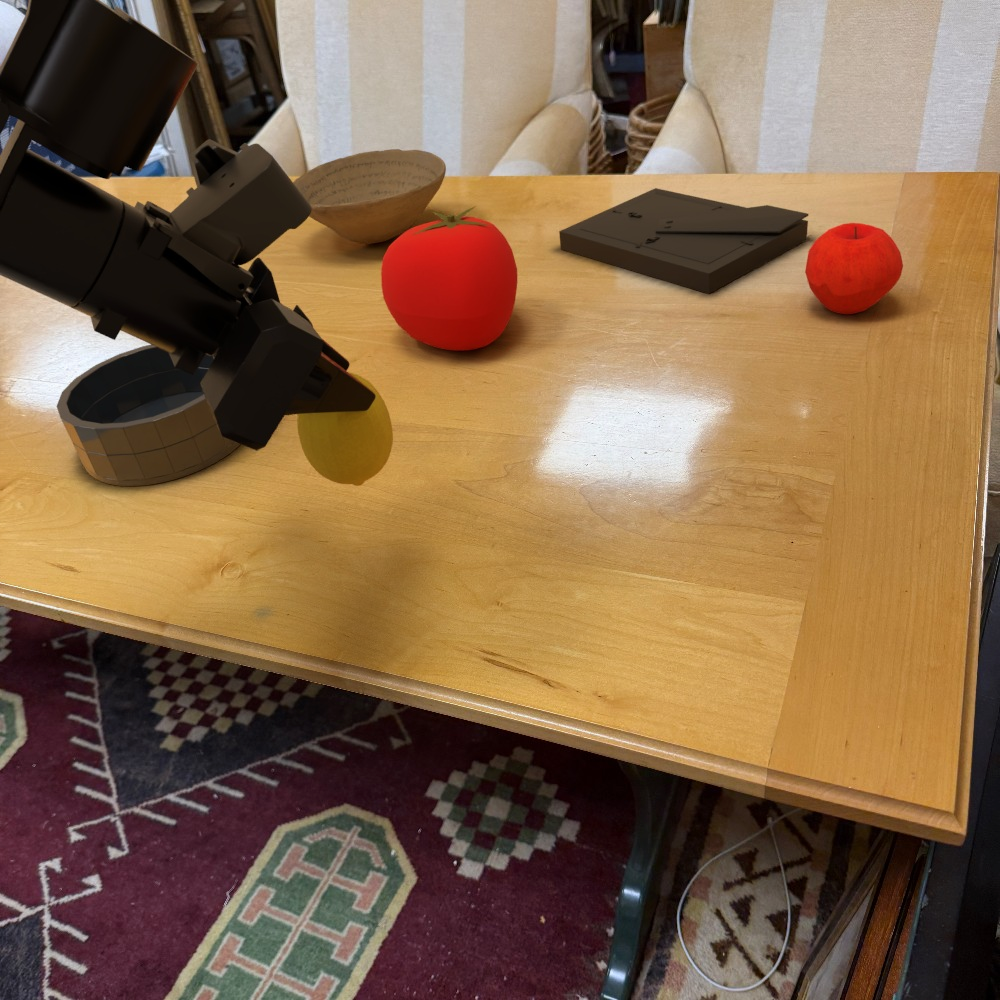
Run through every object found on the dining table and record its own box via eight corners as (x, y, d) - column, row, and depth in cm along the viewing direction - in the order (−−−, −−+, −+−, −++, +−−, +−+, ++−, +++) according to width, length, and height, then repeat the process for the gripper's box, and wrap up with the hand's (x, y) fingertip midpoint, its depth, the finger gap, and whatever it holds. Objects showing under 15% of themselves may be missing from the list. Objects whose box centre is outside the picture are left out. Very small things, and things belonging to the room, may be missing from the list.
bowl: (353, 282, 101) (337, 211, 96) (278, 246, 113) (260, 182, 108) (484, 229, 109) (474, 162, 104) (400, 201, 121) (388, 140, 117)
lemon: (416, 463, 58) (393, 350, 53) (381, 515, 54) (353, 398, 49) (339, 456, 60) (310, 346, 55) (299, 506, 56) (265, 392, 51)
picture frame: (806, 240, 95) (655, 205, 109) (808, 213, 93) (655, 181, 107) (709, 294, 88) (560, 249, 101) (709, 266, 86) (558, 224, 100)
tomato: (428, 385, 80) (404, 261, 73) (378, 329, 90) (353, 216, 84) (552, 343, 83) (539, 221, 77) (490, 294, 94) (474, 183, 87)
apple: (915, 306, 80) (928, 225, 76) (851, 336, 78) (861, 253, 73) (844, 280, 86) (853, 203, 82) (782, 307, 83) (788, 228, 79)
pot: (70, 502, 72) (40, 444, 69) (98, 412, 84) (74, 359, 80) (254, 462, 73) (233, 404, 70) (256, 380, 85) (239, 326, 82)
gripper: (216, 143, 35) (503, 325, 45) (148, 75, 49) (377, 224, 59) (83, 384, 37) (383, 507, 47) (55, 253, 51) (290, 368, 61)
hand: (358, 385), depth 53 cm, fingers closed on lemon, 4 cm apart
